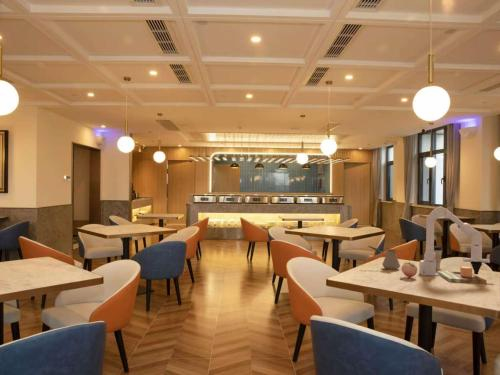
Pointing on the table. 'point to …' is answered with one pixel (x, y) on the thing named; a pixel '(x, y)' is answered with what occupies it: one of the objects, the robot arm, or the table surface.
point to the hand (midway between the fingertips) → (476, 274)
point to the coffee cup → (438, 255)
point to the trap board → (461, 277)
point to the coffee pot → (389, 259)
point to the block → (465, 271)
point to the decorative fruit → (409, 269)
